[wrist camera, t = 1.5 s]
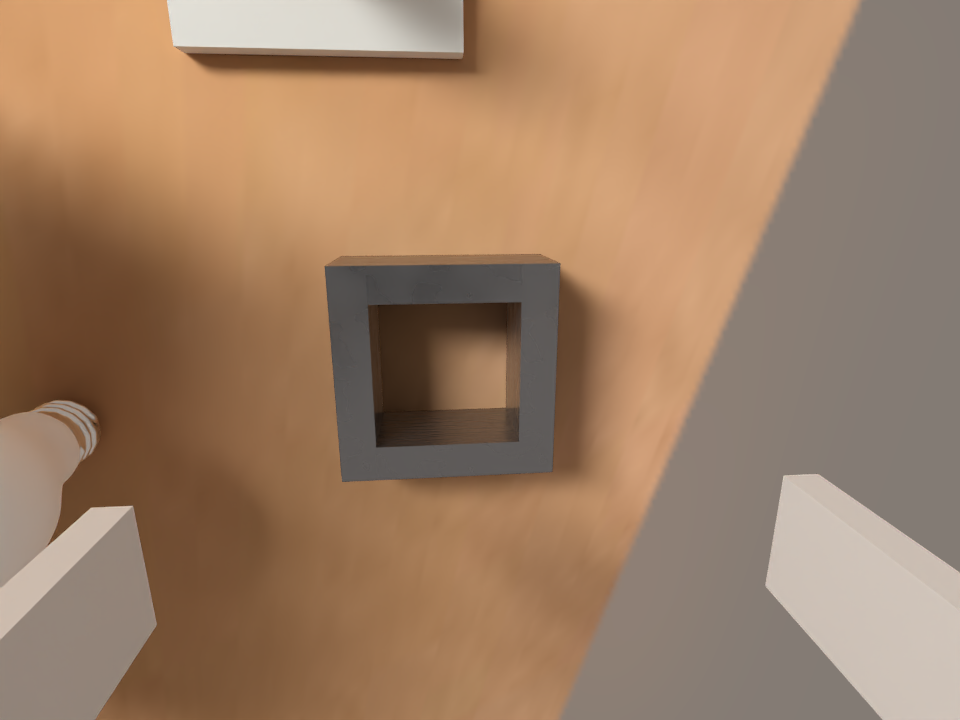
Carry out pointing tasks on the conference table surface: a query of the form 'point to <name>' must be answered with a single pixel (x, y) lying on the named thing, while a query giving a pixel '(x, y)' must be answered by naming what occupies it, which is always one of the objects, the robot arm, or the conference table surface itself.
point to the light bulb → (38, 475)
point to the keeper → (320, 27)
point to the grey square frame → (444, 433)
